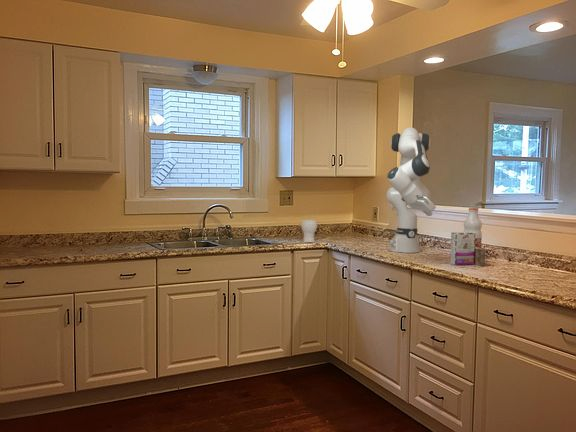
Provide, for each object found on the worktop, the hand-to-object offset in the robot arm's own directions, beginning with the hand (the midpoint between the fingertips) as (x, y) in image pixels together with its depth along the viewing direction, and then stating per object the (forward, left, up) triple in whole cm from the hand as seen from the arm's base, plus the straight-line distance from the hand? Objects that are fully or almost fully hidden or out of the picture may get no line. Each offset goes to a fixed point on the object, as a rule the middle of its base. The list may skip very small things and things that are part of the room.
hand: (430, 215), depth 242 cm
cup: (-98, -36, -25) cm, 107 cm away
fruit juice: (-14, +33, -25) cm, 44 cm away
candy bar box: (+1, +19, -25) cm, 32 cm away
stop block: (-1, +25, -25) cm, 36 cm away
